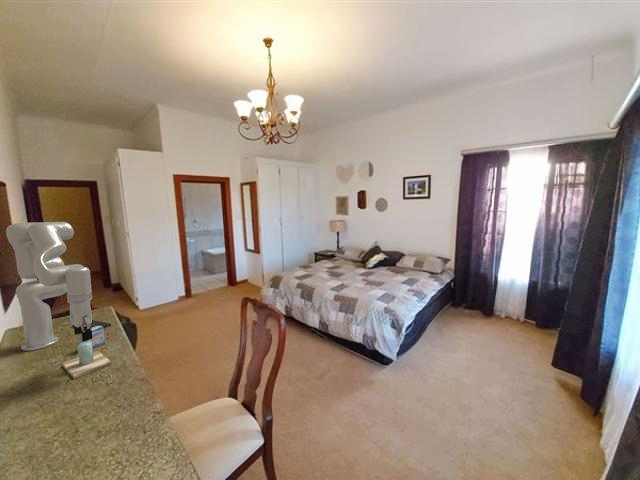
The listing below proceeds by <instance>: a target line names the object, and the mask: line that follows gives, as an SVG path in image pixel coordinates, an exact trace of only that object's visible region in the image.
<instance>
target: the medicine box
mask: <svg viewBox="0 0 640 480" xmlns="http://www.w3.org/2000/svg"><path fill="white" fill-rule="evenodd" d="M104 329H105V328H104ZM104 329H103V326H95V327H93V328H92V337H93V338H92V339H91V340H87V341H84V342H88V341H90V342H92V349H95V348H97V347H100V346H101V345H104V344H105V341H106V340H105V331H104ZM79 340H80V341H79V342H80V344H81V343H83V341H82V334H79Z"/></svg>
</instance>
